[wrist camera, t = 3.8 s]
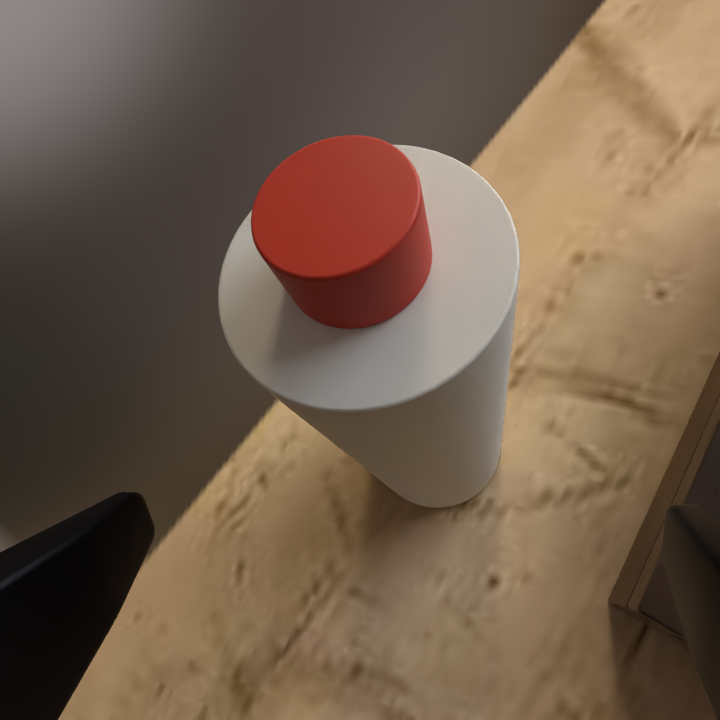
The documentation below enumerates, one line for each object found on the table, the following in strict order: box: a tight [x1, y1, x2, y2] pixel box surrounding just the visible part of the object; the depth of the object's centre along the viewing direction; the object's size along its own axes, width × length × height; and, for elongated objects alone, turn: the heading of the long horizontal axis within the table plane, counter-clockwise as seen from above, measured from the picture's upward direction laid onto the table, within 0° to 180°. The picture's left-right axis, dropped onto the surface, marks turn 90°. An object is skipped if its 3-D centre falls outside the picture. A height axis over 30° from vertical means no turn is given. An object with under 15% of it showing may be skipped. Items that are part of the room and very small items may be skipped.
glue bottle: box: [218, 135, 520, 508], centre depth 13 cm, size 5×5×14 cm
